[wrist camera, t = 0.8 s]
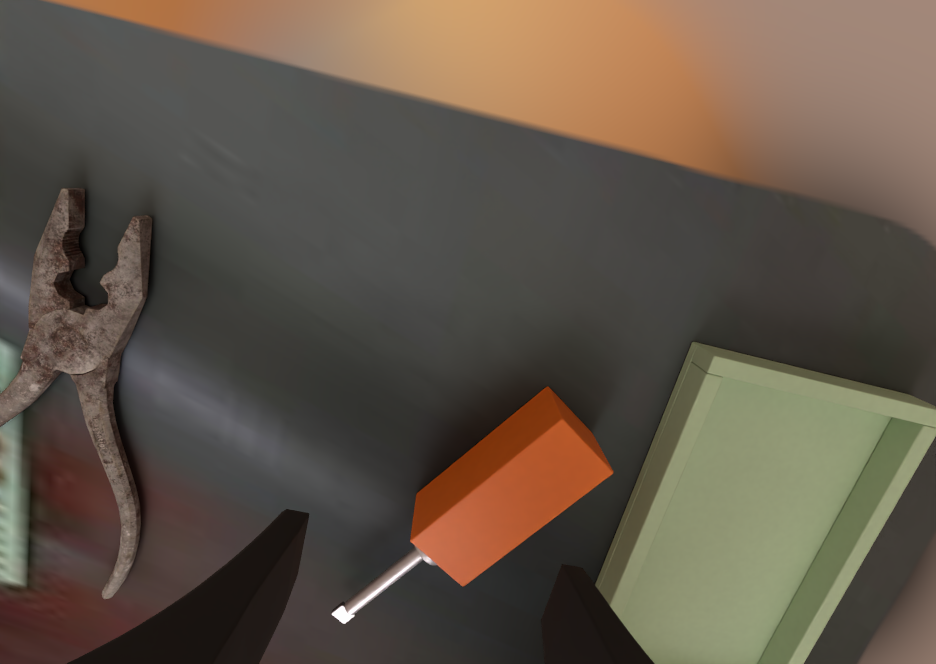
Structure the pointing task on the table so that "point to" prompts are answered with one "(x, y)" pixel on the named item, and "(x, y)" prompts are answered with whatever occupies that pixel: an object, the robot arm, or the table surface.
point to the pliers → (86, 346)
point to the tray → (757, 507)
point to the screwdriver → (497, 495)
